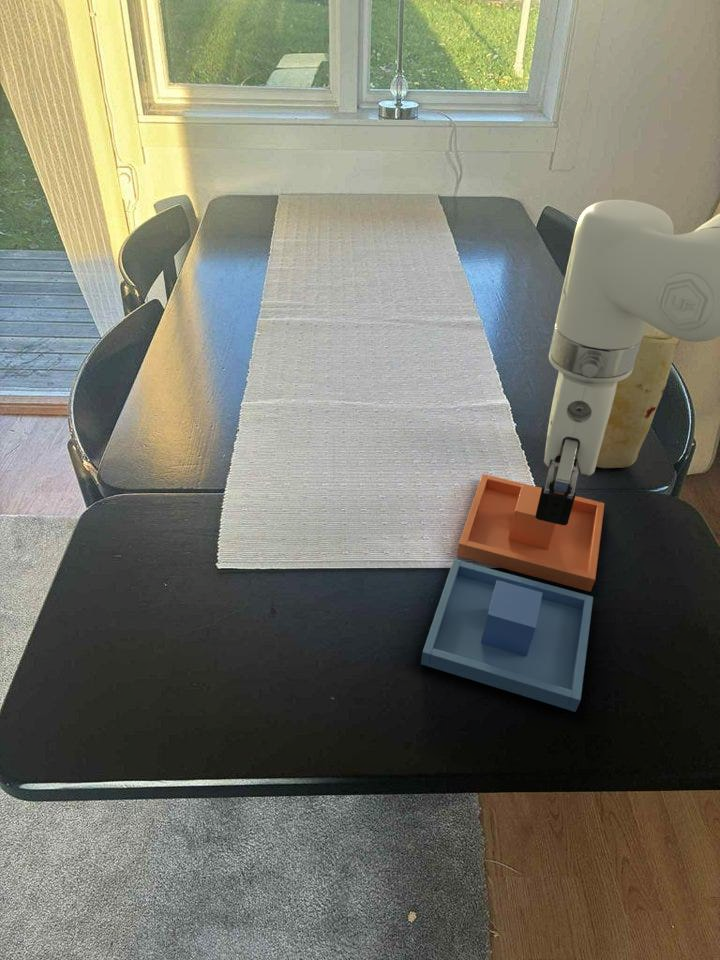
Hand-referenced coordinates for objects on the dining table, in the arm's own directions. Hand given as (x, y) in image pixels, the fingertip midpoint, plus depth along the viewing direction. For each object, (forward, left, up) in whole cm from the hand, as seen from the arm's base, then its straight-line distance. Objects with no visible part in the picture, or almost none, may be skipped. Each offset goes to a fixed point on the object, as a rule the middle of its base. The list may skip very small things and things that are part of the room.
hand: (557, 490), depth 74 cm
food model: (-5, -19, -8) cm, 21 cm away
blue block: (+1, +14, -8) cm, 16 cm away
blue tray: (+1, +14, -8) cm, 16 cm away
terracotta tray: (+1, -1, -8) cm, 8 cm away
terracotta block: (+1, -1, -8) cm, 8 cm away
